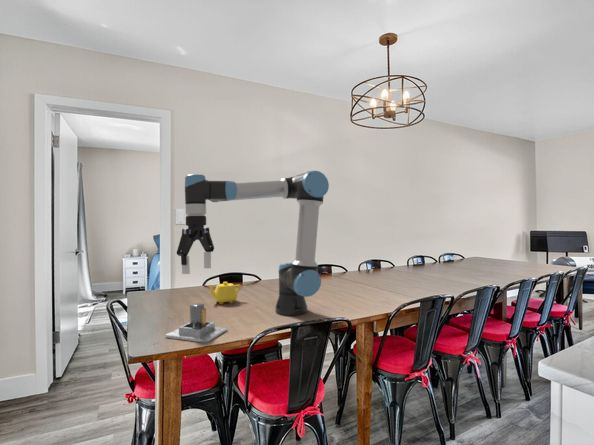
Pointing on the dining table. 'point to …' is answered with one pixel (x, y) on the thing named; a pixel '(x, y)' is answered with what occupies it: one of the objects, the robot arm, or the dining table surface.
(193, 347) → the dining table surface
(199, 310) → the grey rounded cylinder
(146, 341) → the dining table surface
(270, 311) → the dining table surface
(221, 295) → the teapot
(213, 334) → the collar
